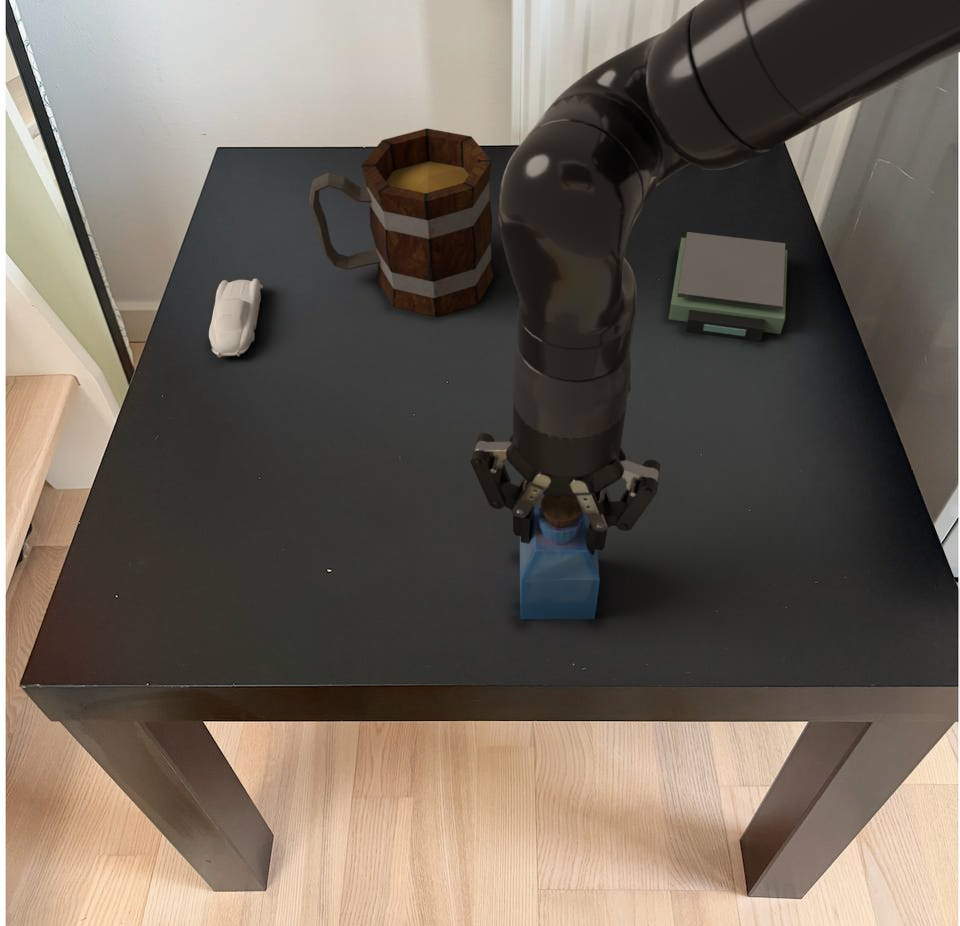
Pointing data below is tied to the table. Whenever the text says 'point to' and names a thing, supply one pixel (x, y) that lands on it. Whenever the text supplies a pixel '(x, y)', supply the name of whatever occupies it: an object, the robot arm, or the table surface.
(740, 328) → the scale
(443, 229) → the mug
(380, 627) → the table surface
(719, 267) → the pan
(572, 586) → the perfume bottle
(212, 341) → the toy car
